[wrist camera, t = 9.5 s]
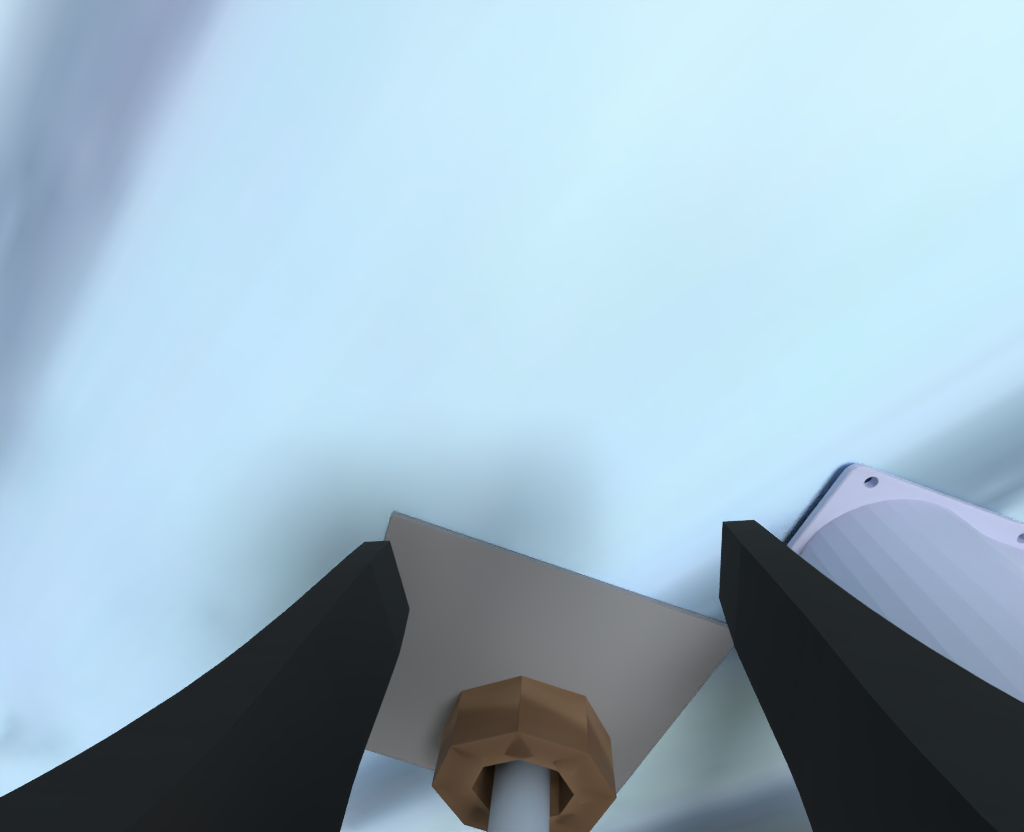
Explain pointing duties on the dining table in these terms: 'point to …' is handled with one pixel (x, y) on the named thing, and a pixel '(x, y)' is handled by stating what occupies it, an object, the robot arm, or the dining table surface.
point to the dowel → (520, 798)
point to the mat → (534, 644)
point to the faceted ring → (526, 751)
